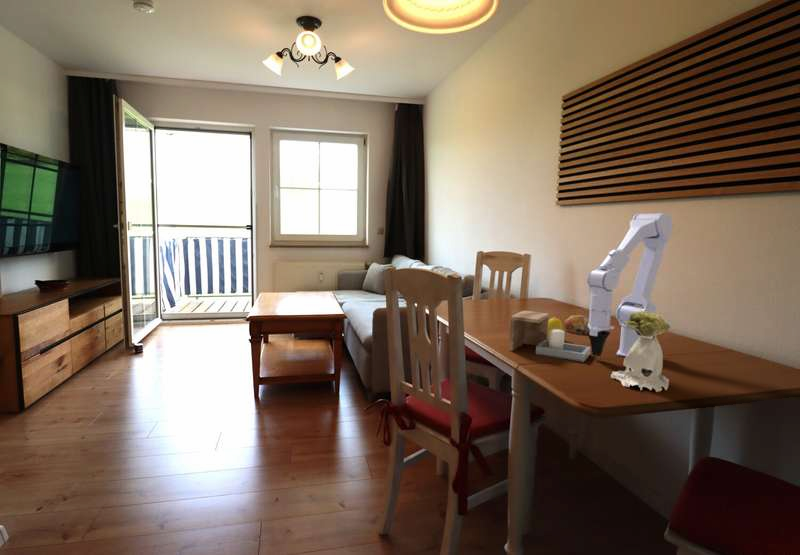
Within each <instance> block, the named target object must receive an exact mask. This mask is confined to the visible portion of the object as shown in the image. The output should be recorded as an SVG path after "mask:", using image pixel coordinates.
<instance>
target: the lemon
mask: <svg viewBox="0 0 800 555" xmlns="http://www.w3.org/2000/svg"><path fill="white" fill-rule="evenodd" d="M550 329H559V330H563V331H564V325H563V322H562V320H560V319H559V318H558V317H557V316H553V317H551V318H549V322H548V336H549V332H550Z"/></svg>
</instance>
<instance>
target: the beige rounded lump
mask: <svg viewBox="0 0 800 555" xmlns="http://www.w3.org/2000/svg"><path fill="white" fill-rule="evenodd" d="M565 332H566V331H565V330H564V329H563V330H559V329H550V332H549V335H548V341H549V348H553V349H559V350H563V348H564V343H565Z"/></svg>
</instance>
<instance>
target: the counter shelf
mask: <svg viewBox="0 0 800 555" xmlns="http://www.w3.org/2000/svg"><path fill="white" fill-rule="evenodd" d="M549 320H550V313H547V312H539V311H532V310H531V311H529V310H521V311H519V312H517V313H515V314H513V315H511V316H510V332H509V333H510V334H509V337H510V338H509V352H513V351H514V350H516V349H518V348H519V347H521V346H523V344H525V345H533V346H537V345H539V344H540V343H541V342H543V341H544V340H548V339H549V335H548V322H549Z"/></svg>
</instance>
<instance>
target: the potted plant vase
mask: <svg viewBox="0 0 800 555" xmlns="http://www.w3.org/2000/svg"><path fill="white" fill-rule="evenodd" d="M630 314H631V313H630ZM629 320H630V321H624V322H623V323H624V324H626V326H627V327H629V328H630V329H632V330H635V331H636V333H637V334H638V335H639V336H640V337H639V339H638V340H637V341H636V342H635V344H634V345H633V346H632V347H631V349H630V351H629V352H628V354H627V355H626V356H625V358H624V360H623V363H622V364H623V366H624V367H626V368H625V370H618V371H615V370H614V371H612V373H611V374H610V378H611V379H616V380H618V381H619V382H621V385H622V386H623V387H628V388H630V386H632V387H634V386H638V388H640V391H642V390H643V388H647V389H649V391H652V390H653V389H654V390H655V392H657V393H659V392H661V391H662V390H663V388H664V390H665V391H667V390H668V389H669V385H670V379H669V378H667V377H666V376H665V375H664V374H662V371H663V366H664V363H663V362H664V355H663V349H662V347H661V344H660V342H659V339H658V338H657V336H658V335H661V334H664V333H666V332H668V330H669V329H670V327H671V326H670V323H668V322H667V321H665V320H664V319H663V318H661V316H660V315H659V314H657V313H656V312H655V313H652V312H648V311H640V312H635V313H632V314H631V316H630V318H629ZM662 387H663V388H662Z"/></svg>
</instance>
